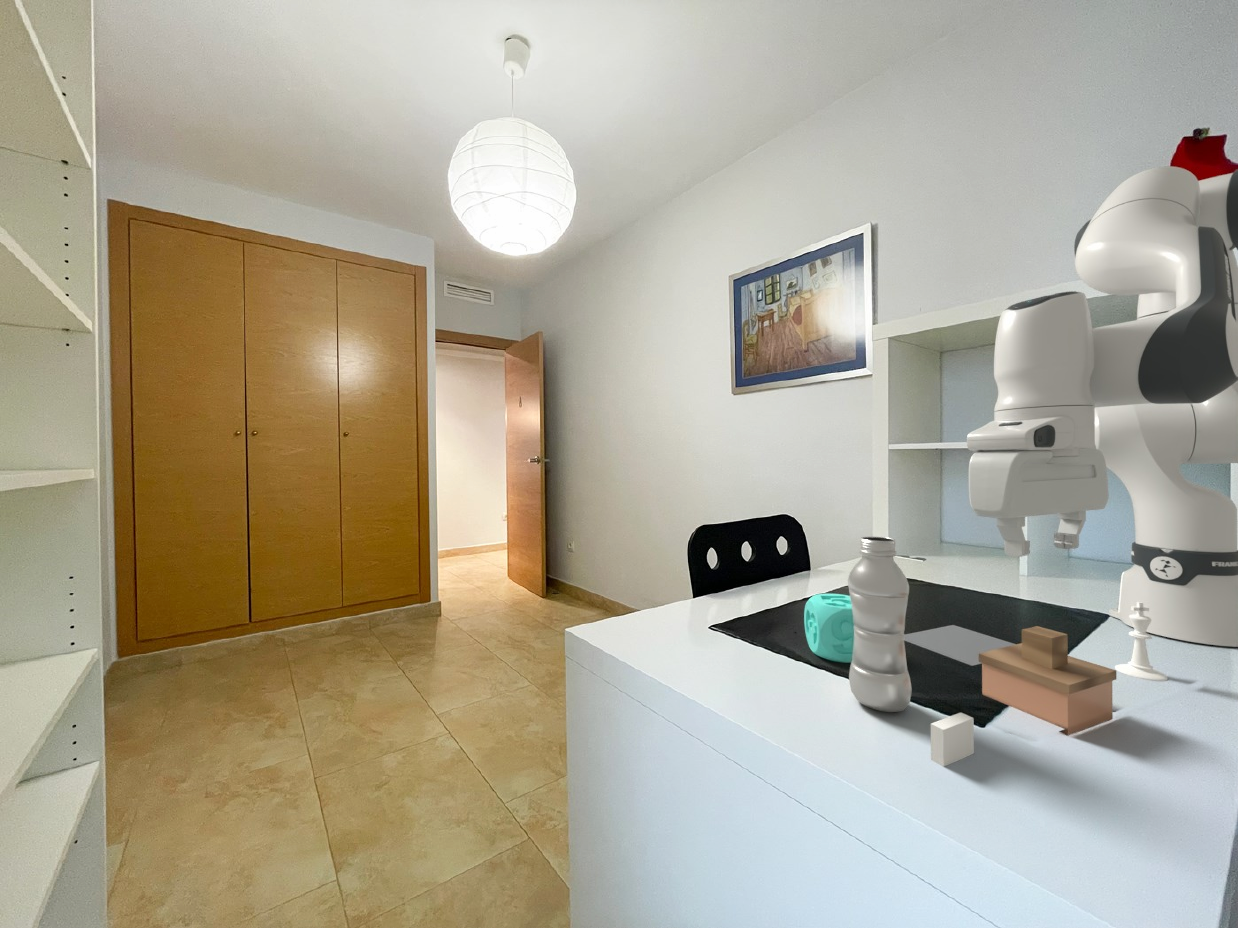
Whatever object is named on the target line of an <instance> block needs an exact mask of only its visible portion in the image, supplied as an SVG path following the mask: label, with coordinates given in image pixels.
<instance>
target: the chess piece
mask: <svg viewBox="0 0 1238 928" xmlns="http://www.w3.org/2000/svg"><path fill="white" fill-rule="evenodd" d="M1131 610H1134V611H1137V614H1133V615H1130V616H1129V618H1130V620H1131V622H1132V625H1133V627H1132V628H1133V629H1134V630H1133V631H1132V630H1131V631H1129V632H1128V636H1131V637H1133V638H1134V644H1133V650H1132V655H1131V660H1130V661H1127V663H1120V664H1116V665H1115V666H1114V670H1116V672H1119V673H1122V674H1124V675H1126V676H1129V677H1132V678H1136V679H1140V680H1145V681H1146V680H1147V681H1150V682H1151V681H1152V682H1166V681H1168V680H1169V679H1168V676H1167V675H1165V674H1164V673H1162V672H1160V671H1158V670H1156V669H1154V666H1153V665H1151V664H1150V661H1149V655H1148V648H1147V641H1146V640H1151V639H1153V637H1152V635H1151V634H1149V633H1148V632H1146V630H1147V628H1148V626H1149V624H1150V622H1151V618H1149V617H1147V616H1144V615H1143V611H1149V608H1148V607H1143V603H1142V602H1137V607H1134V606H1131Z"/></svg>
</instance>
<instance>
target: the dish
mask: <svg viewBox="0 0 1238 928" xmlns="http://www.w3.org/2000/svg"><path fill="white" fill-rule="evenodd" d="M981 678H982V679H981V687H982V688H981V692H982V693H981V694H982V695H983V696H985V697H987V698H990V699H992V700H995V701H998V702H999V703H1002V704H1004V705H1007V706H1009V707H1011V708H1013V709H1016V710H1018V711H1021V712H1023V713H1025V714H1028V715H1030V716H1033V717H1035V718H1038V719H1040V720H1042V721H1044V722H1047V723H1048V724H1049V723H1050V724H1052V725H1054V726H1057V727H1059V728H1061V730H1059V731H1058V732H1059V733H1060V734H1063V735H1064V736H1065V735H1066V736H1070V735H1073V734H1076V733H1078V732H1081V731H1083V730H1086V729H1089V728H1092V727H1095V726H1097V725H1100V724H1102V723H1105V722H1108V721H1111V720H1112V719H1113V712H1114V711H1113V681H1110V682H1107V683H1104V684H1100V685H1097V686H1094V687H1091V688H1088V689H1085V690H1082V691H1079V692H1075V693H1072V694H1066V693H1064V692H1061V691H1058V690H1055V689H1053V688H1050V687H1047V686H1044V685H1042V684H1039V683H1036V682H1033V681H1031V680H1028V679H1025V678H1022V677H1020V676H1017V675H1014V674H1011V673H1009V672H1006V671H1003V670H1000V669H998V668H995V667H992V666H989V665H986V664H984V663H982V664H981Z"/></svg>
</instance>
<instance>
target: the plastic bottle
mask: <svg viewBox="0 0 1238 928" xmlns="http://www.w3.org/2000/svg"><path fill="white" fill-rule="evenodd" d="M859 553H860V554H861V558H860V559H859V561H858V562H857V563H855V565H854V567H852V569H851V571H850V572H849V574H848V577H847V578H848V579H847V586H848V592H849V596H850V599H851V605H852V612H853V623H854V642H853V656H852V662H851V663H850V667H849V674H848V680H849V685H850V690H851V692H852V694H853V696H854V697H855V699H856V700H857V701H858V702H859V703H860V704H862V705H863V706H865V707H867V708H870V709H873V710H875V711H880V712H887V713H899V712H902V711H904V710H905V709H906V708H907V706H908V705H910V703H911V697H912V692H913V691H912V690H913V689H912V683H911V677H910V674H909V670H908V665H907V656H906V646H905V641H904V635H905V630H906V629H905V628H906V616H907V615H906V613H907V607H908V602H909V601H908V599H909V593H910V585H909V582H908V579H907V576H906V575H905V573H904V572H903V571H902V569H901V567H899V564H897V562H895V560H894V557H896V556H897V551H896V539H894V538H891V537H885V536H884V537H883V536H862V537H860V548H859Z"/></svg>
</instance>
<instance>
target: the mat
mask: <svg viewBox="0 0 1238 928" xmlns="http://www.w3.org/2000/svg"><path fill="white" fill-rule="evenodd" d="M904 634H905V633H904ZM904 642H907V643H910V644H912V645H914V646H918V647H920V648H923V649H926V650H929V651H931V652H934V653H937V654H939V655H942V656H944V657H947V658H950V659H953V660H955V661H958V662H961V663H963V664H966V665H969V666H971V667H973V666H977V665H982V663H981V662H979V653H983V652H987V651H991V650H995V649H1000V648H1004V647H1008V646H1012V645H1016V643H1013V642H1010V641H1006V640H1003V639H1000V638H996V637H993V636H990V635H987V634H984V633H982V632H978V631H975V630H972V629H968V628H964V627H962V626H957V625H955V624H952V625H946V626H941V627H937V628H930V629H926V630H922V631H917V632H915V631H914V632H912V633H911V632H910V633H906V634H905V635H904Z"/></svg>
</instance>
